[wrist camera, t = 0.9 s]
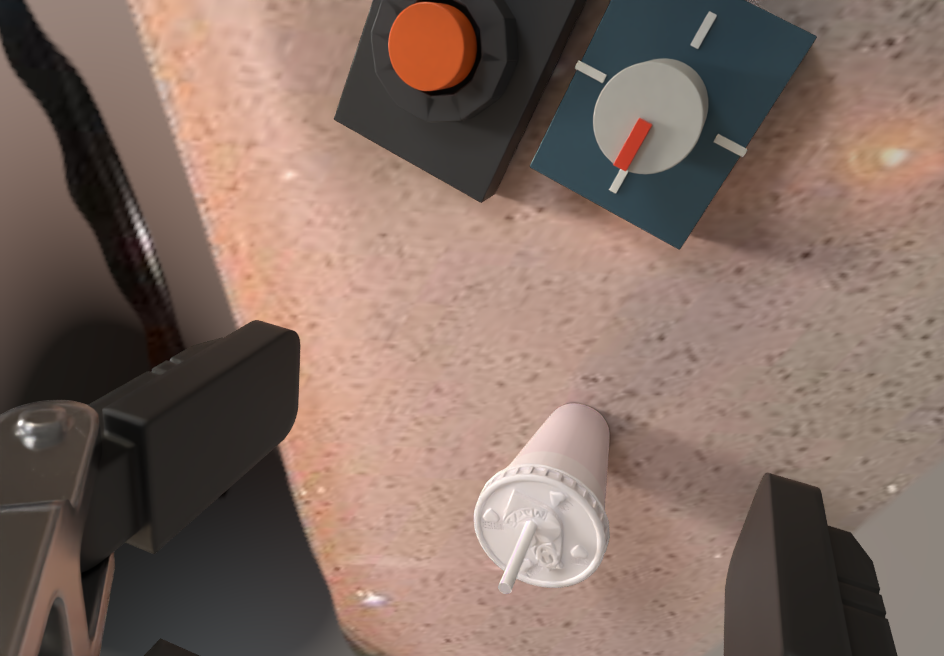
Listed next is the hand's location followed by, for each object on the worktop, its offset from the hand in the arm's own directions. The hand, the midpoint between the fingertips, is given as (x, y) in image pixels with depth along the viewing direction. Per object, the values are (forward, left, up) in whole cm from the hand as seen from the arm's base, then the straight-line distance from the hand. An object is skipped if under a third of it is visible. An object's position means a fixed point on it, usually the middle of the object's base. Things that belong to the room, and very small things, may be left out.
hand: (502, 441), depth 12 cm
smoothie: (+15, +4, -26) cm, 30 cm away
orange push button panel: (-1, -11, -26) cm, 28 cm away
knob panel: (-3, -1, -26) cm, 26 cm away
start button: (-1, -11, -22) cm, 25 cm away
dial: (-3, -1, -23) cm, 23 cm away
